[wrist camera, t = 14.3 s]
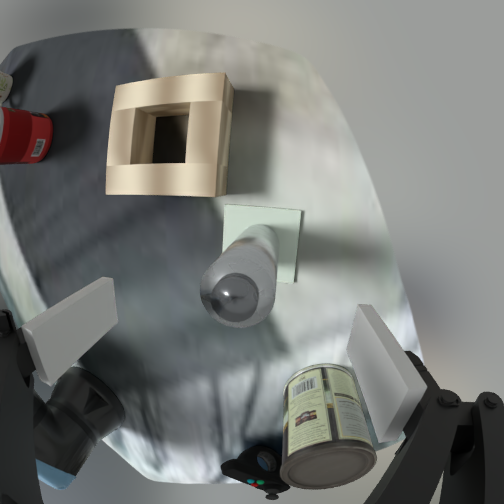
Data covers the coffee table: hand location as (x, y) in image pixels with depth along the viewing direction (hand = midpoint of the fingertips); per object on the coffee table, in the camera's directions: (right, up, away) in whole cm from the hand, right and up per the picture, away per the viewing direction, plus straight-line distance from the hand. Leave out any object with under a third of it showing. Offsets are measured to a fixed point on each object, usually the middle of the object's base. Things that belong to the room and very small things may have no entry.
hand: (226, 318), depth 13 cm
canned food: (-32, +21, +16) cm, 41 cm away
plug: (+2, +4, +16) cm, 16 cm away
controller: (+3, -31, +25) cm, 40 cm away
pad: (+2, +4, +16) cm, 17 cm away
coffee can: (+11, -16, +20) cm, 28 cm away
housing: (-7, +16, +14) cm, 22 cm away
